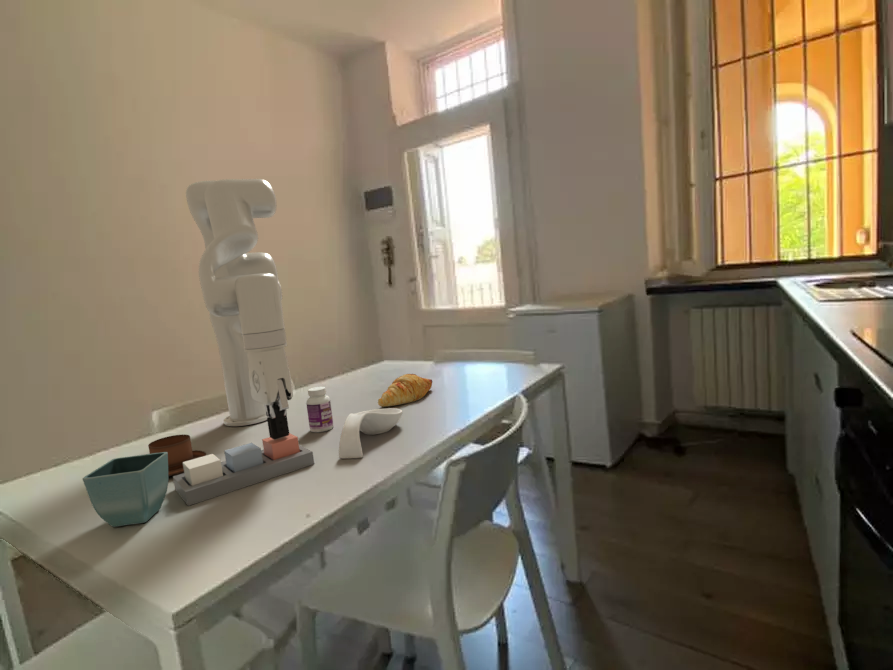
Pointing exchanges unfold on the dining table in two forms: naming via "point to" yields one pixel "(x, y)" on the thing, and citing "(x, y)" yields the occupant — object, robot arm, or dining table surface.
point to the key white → (202, 469)
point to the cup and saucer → (175, 451)
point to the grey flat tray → (241, 476)
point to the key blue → (243, 457)
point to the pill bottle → (319, 410)
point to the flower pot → (129, 488)
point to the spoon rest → (365, 429)
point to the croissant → (405, 390)
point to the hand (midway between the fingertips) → (279, 436)
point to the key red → (281, 446)
